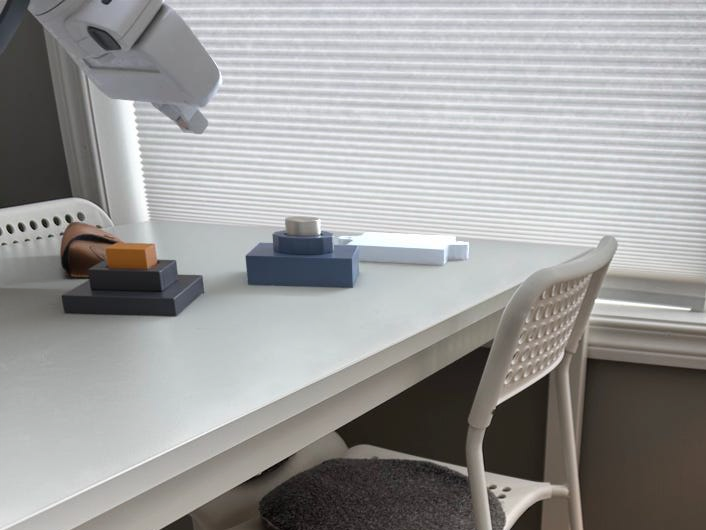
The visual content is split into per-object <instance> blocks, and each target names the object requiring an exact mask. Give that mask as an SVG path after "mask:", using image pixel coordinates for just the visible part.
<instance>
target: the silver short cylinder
mask: <svg viewBox="0 0 706 530" xmlns="http://www.w3.org/2000/svg"><path fill="white" fill-rule="evenodd" d="M284 225H285V227H284V228H285V230H286V235H288V236H298V237H312V236H321V232H320V231H321V219H320V218H319V217H314V216H288V217H285V218H284Z"/></svg>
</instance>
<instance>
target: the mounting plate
mask: <svg viewBox="0 0 706 530" xmlns="http://www.w3.org/2000/svg"><path fill="white" fill-rule="evenodd" d="M337 245H355V246H358V249H359V260H362V261H361V262H375V261H377V263H399V264H417V265H436V266H445V264H446V263H447V262H448V261H451V260H452V261H453V260H459V261H465V260H468V259H469V251H470V249H469V248H470V242H468V241H459V240H457V239H456V236H455V235H437V234H419V233H418V234H417V233H400V232H399V233H397V232H396V233H395V232H377V231H375V232H374V231H365V232H364V233H362V234H360V235H340V236H338V237H337Z"/></svg>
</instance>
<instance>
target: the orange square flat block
mask: <svg viewBox="0 0 706 530" xmlns="http://www.w3.org/2000/svg"><path fill="white" fill-rule="evenodd" d="M156 249H157V248H156V244H155V243H145V242H144V243H142V242H124V243H115V244H113V245H111V246H109V247H107V248H105V250H106V256H107V263H108V268H133V269H151V268H152V267H154V266H155V265H157V260H158V258H157V257H158V256H157V250H156Z"/></svg>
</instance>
